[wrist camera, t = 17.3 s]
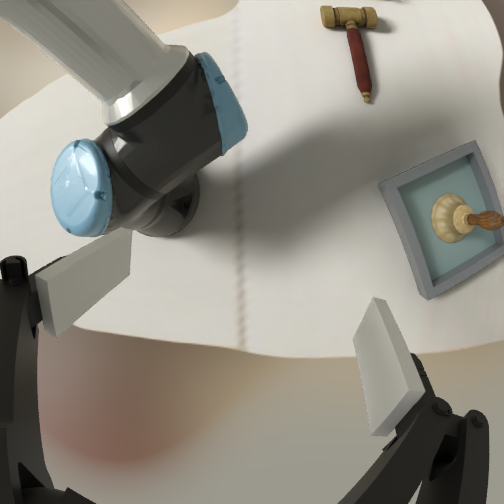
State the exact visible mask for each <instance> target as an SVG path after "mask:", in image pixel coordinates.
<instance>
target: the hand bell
mask: <svg viewBox="0 0 504 504" xmlns="http://www.w3.org/2000/svg"><path fill="white" fill-rule="evenodd" d="M431 224H432V227H433V230H434V232H435V234H436V235H437V236H438V237H439V238H440V239H441V240H443V241H444V242H447V243H454V242H457V241H459V240H461V239H462V238H463V237H464V236H465V235H466V234H467V233H469V232H470V231H471V230H472V229H473V228H474V225H478V226H480V227H481V228H483V229H485V230H490V231H493V230H497V229H499V228H501V227H503V226H504V216H502V215H500V214H499V213H497V212H495V211H484V212H481V213H480V214H474V212H473V210H472V209H471V208H470V207H469V206H467V205H466V203H465V201H464V200H463V199H462V198H461V197H459V196H458V195H456V194H452V193H448V194H444V195H442V196H440V197H439V198H438V199H437V200H436V202H435V203H434V205H433V208H432V211H431Z"/></svg>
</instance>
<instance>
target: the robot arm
mask: <svg viewBox="0 0 504 504" xmlns="http://www.w3.org/2000/svg"><path fill="white" fill-rule="evenodd" d="M0 18H2V19H3V20H4V21H5V22H6V23H8V24H9V25H10V26H12V27H13V28H14V29H15V30H16V31H18V32H19V33H20V34H21V35H23V36H24V37H25V38H26V39H27V40H29V41H30V42H31V43H32V44H34V45H35V46H36V47H37V48H39V49H40V50H41V51H42V52H43V53H44V54H46V55H47V56H48V57H49V58H51V59H52V60H53V61H54V62H55V63H57V64H58V65H59V66H60V67H62V68H63V69H64V70H65V71H66V72H67V73H69V74H70V75H71V76H72V77H73V78H74V79H76V80H77V81H78V82H79V83H80V84H82V85H83V86H84V87H85V88H86V89H88V90H89V91H90V92H91V93H92V94H93V95H95V96H96V97H97V98H98V99H99V100H100V101H101V102H102V120H103V122H104V123H105V124H106V125H107V126H108V128H107V129H106V130H105V131H104V132H103V133H102V134H101V135H100V136H99V137H97V138H96V139H95V140H94V141H93V140H90V139H82V140H76V141H73V142H71V143H70V144H68V145H67V146H66V147H65V148H64V149H63V150H62V152H61V153H60V155H59V157H58V158H57V161H56V163H55V166H54V169H53V173H52V178H51V201H52V206H53V210H54V213H55V215H56V217H57V219H58V221H59V223H60V224H61V226H62V227H63V228H64V229H65V230H66V231H67V232H69V233H71V234H73V235H75V236H79V237H98V236H100V235H104V236H103V237H101V238H99V239H97V240H95V241H93V242H91V243H89V244H88V245H86V246H84V247H82V248H80V249H79V250H77V251H75V252H73V253H71V254H70V255H67V256H63V257H60V258H58V259H56V260H54V261H52V263H49V264H47V265H46V266H44V267H42V268H40V269H39V270H37V271H35V272H34V273H32V274H30V275H29V276H28V269H27V261H26V259H25V258H24V257H22V256H9V257H6V258H4V259H3V260H2V261H1V262H0V270H1V275H2V279H0V504H96V503H94V502H92V501H90V500H89V499H87V498H85V497H83V496H82V495H80V494H78V493H76V492H75V491H73V490H72V489H70V488H67V489H66V491H61V490H57V489H54V486H53V483H52V480H51V477H50V475H49V473H48V471H47V469H46V465H45V461H44V455H43V448H42V442H41V433H40V423H39V412H38V394H37V353H38V351H37V350H38V333H39V330H38V325H37V324H38V323H39V322H41V321H42V320H43V324H44V329H45V331H46V332H48V333H49V334H51V335H53V336H54V337H56V338H57V337H58V336H60V334H62V333H63V332H64V331H65V330H66V329H67V328H68V327H69V326H71V325H72V324H73V323H74V322H75V321H76V320H77V319H78V318H80V317H81V316H82V315H83V314H84V313H85V312H86V311H88V310H89V309H90V308H91V307H92V306H93V305H94V304H96V303H97V302H98V301H99V300H100V299H101V298H103V297H104V296H105V295H106V294H107V293H109V292H110V291H111V290H112V289H113V288H114V287H116V286H117V285H118V284H119V283H120V282H122V281H123V280H124V279H125V278H127V277H128V276H129V275H130V258H131V242H132V230H137V231H138V232H140V233H142V234H144V235H147V236H150V237H163V236H168V235H172V234H174V233H176V232H178V231H180V230H181V229H183V228H184V227H185V226H186V225H187V224H188V223H189V222H190V220H191V219H192V217H193V215H194V213H195V211H196V209H197V206H198V201H199V183H198V179H197V176H196V174H195V173H196V172H198V171H199V170H200V169H202V168H203V167H205V166H206V165H208V164H209V163H210V162H212V161H213V160H215V159H216V158H218V157H219V156H223V155H225V153H226V152H227V150H229V149H230V148H232V147H233V146H234V145H236V144H237V143H238V142H240V141H241V140H243V138H244V137H245V136H246V134H247V131H248V123H247V120H246V117H245V115H244V113H243V110H242V108H241V106H240V104H239V102H238V100H237V98H236V96H235V94H234V93H233V91H232V89H231V87H230V85H229V84H228V82H227V81H226V80H225V77H224V76H223V74H222V72H221V70H220V68H219V67H218V65H217V64H216V62H215V61H214V59H213V58H212V57H211V56H210V55H209V54H208V53H207V52H203V53H198V54H196V55H195V56H193V55H192V54H191V52H190V51H189V50H188V49H187V48H186V47H185V46H180V45H165V44H164V43H163V42H162V41H161V40H160V39H159V38H158V37H157V36H156V35H155V34H154V32H153V31H152V30H151V29H150V28H149V27H148V26H147V25H146V24H145V23H144V22H143V21H142V20H141V19H140V18H139V16H138V15H137V14H136V13H135V12H134V11H133V10H132V9H131V8H130V7H129V6H128V5H127V4H126V3H125V2H124V1H123V0H0ZM105 234H106V235H105ZM353 342H354V346H355V351H356V355H357V360H358V365H359V370H360V375H361V380H362V386H363V390H364V397H365V402H366V408H367V414H368V420H369V426H370V433H371V436H388V435H389V434H390V433H391V432H392V430H393V429H394V428H395V430H396V434H397V435H396V437H394V438H393V439H392V441H390V443H389V444H387V446H385V447H384V448H383V453H382V454H381V455H380V457H379V458H378V459H377V460H376V461H375V463H374V464H373V465H372V466H371V468H370V469H369V470H368V471H367V472H366V473H365V475H364V476H363V477H362V478H361V479H360V480H359V481H358V483H357V484H356V485H355V486H354V487H353V488H352V489H351V490H350V492H348V494H346V496H345V497H344V498H343V499H342V500H341V501H340V502H339V503H338V504H408V503H409V501H410V500H411V498H412V496H413V495H414V493H415V491H416V490H417V488H418V486H419V485H420V483H421V481H422V484H421V487H420V491H419V494H418V497H417V501H416V504H486V498H487V488H488V474H489V425H488V421H487V419H486V417H485V416H484V415H483V413H481V412H479V411H477V410H470V411H469V412H468V413H467V414H466V415H465V416H464V417H461V416H458V415H455V414H452V413H453V412H452V409H451V407H450V405H449V404H448V403H447V402H446V401H445V400H443V399H441V398H439V397H436V396H435V394H434V391H433V389H432V386H431V384H430V381H429V379H428V377H427V374H426V372H425V371H424V367H423V365H422V363H421V361H420V360H419V359H418V358H417V356H416V355H415V354H413V353H410V352H409V350H408V348H407V345H406V343H405V341H404V339H403V336H402V334H401V332H400V330H399V328H398V325H397V323H396V321H395V319H394V317H393V315H392V313H391V311H390V309H389V307H388V305H387V303H386V301H385V300H382V299H379V298H375V297H373V298H372V300H371V302H370V305H369V307H368V309H367V311H366V313H365V315H364V317H363V319H362V321H361V324H360V326H359V328H358V330H357V332H356V334H355V336H354V338H353Z"/></svg>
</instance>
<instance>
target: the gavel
mask: <svg viewBox="0 0 504 504" xmlns="http://www.w3.org/2000/svg"><path fill="white" fill-rule="evenodd" d="M320 11H321V19H322V23H323V26H324V27H334V26H335V25H342V26H346V29H347V38H348V42H349V46H350V51H351V55H352V60H353V65H354V70H355V75H356V80H357V86H358V88H359V90H360V92H361V93H362V96H363V97H365V98H364V101H365V102H367V103H368V102H370V98H369V97H370V96H371V88H372V83H371V78H370V73H369V68H368V64H367V59H366V55H365V51H364V46H363V42H362V38H361V35H360V33H359V31H358V28H357V26H361V25H364V26H365V28H376V26H377V14H376V11H375V10H374V8H372V7H362V9H359V8H349V7H337V8H332V6H321V8H320Z"/></svg>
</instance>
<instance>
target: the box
mask: <svg viewBox="0 0 504 504" xmlns="http://www.w3.org/2000/svg"><path fill="white" fill-rule="evenodd" d="M378 186H379V188H380V190H381V193H382V195H383V197H384V199H385V202H386V204H387V206H388V209H389V211H390V213H391V216H392V218H393V220H394V223H395V225H396V228H397V230H398V233H399V235H400V238H401V241H402V243H403V246H404V249H405V251H406V254H407V257H408V260H409V263H410V266H411V268H412V271H413V274H414V277H415V281H416V284H417V287H418V290H419V293H420V295H422V296H423V297H424V298H425V299H426V300H430V299H432V298H434V297H435V296H437V295H439V294H441V293H443V292H444V291H446V290H448V289H450V288H451V287H453V286H455V285H457V284H458V283H460V282H462V281H463V280H465V279H467V278H468V277H470V276H472V275H473V274H475V273H476V272H478V271H480V270H481V269H483V268H484V267H486V266H487V265H489V264H490V263H492V262H493V261H495V260H496V259H498V258H499V257H501V256H502V255H504V226H503V227H501V228H499V229H497V230H493V231H490V230H485V229H483V228H481V227H480V226H478V225H474V228H473V229H472V230H471V231H470V232H469V233H467V234H466V235H465V236H464V237H463V238H462V239H461V240H459V241H457V242H454V243H447V242H444V241H443V240H441V239H440V238H439V237H438V236H437V235H436V234H435V232H434V230H433V227H432V224H431V211H432V208H433V205H434V203H435V202H436V200H437V199H438V198H439V197H440V196H442V195H444V194H448V193H452V194H456V195H458V196H459V197H461V198H462V199H463V200H464V201H465V203H466V205H467V206H469V207H470V208H471V209H472V210H473V212H474V214H480V213H481V212H484V211H495V212H497V213H499V214H500V215H502V216H503V213H502V210H501V206H500V203H499V200H498V197H497V194H496V191H495V188H494V185H493V182H492V179H491V177H490V174H489V171H488V169H487V166H486V164H485V161H484V159H483V156H482V154H481V151H480V149H479V147H478V145H477V142H476V140H474V141H472V142H469V143H467V144H465V145H463V146H460V147H458V148H456V149H454V150H451V151H449V152H447V153H445V154H443V155H440V156H438V157H436V158H434V159H432V160H430V161H427V162H425V163H423V164H421V165H419V166H416V167H414V168H412V169H410V170H408V171H406V172H403V173H401V174H399V175H397V176H395V177H392V178H390V179H388V180H386V181H384V182H382V183H379V184H378Z"/></svg>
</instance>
